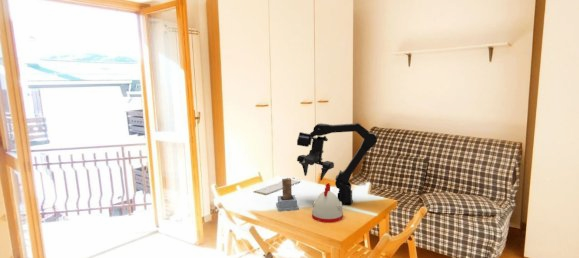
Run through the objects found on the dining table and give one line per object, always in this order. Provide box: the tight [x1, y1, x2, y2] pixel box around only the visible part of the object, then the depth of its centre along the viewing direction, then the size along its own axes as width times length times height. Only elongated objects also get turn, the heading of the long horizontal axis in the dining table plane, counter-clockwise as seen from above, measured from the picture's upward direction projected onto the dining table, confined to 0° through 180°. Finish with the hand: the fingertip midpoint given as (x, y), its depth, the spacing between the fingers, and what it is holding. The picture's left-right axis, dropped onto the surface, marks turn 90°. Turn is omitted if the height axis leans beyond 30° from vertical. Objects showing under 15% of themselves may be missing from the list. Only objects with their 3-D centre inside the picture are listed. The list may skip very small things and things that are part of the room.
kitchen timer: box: [311, 182, 344, 224], centre depth 145 cm, size 14×14×15 cm
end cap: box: [275, 194, 300, 212], centre depth 159 cm, size 10×10×4 cm
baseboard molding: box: [252, 177, 301, 196], centre depth 195 cm, size 31×3×12 cm
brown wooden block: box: [281, 177, 293, 200], centre depth 159 cm, size 4×3×13 cm
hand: (313, 178), depth 166 cm, fingers open, 9 cm apart
